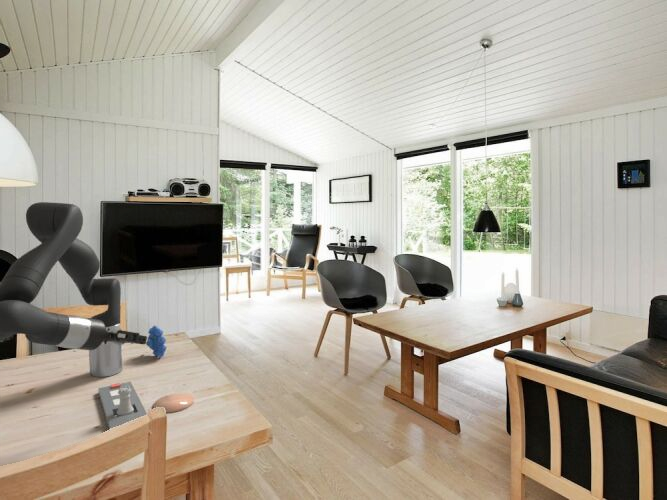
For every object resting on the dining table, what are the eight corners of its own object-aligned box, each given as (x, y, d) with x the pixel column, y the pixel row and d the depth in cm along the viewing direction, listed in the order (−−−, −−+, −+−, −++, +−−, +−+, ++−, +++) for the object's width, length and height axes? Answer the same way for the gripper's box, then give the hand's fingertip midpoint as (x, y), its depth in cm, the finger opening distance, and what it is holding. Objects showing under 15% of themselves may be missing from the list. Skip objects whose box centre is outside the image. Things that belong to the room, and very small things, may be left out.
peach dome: (144, 409, 112) (144, 407, 112) (170, 393, 123) (170, 391, 123) (178, 414, 110) (178, 412, 110) (201, 397, 120) (201, 395, 120)
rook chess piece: (120, 412, 111) (119, 384, 110) (137, 411, 111) (136, 384, 111) (113, 420, 106) (112, 391, 106) (130, 419, 107) (129, 391, 106)
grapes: (139, 355, 157) (138, 325, 156) (156, 351, 162) (155, 322, 161) (153, 362, 149) (152, 331, 149) (170, 357, 155) (169, 327, 154)
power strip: (98, 392, 123) (98, 386, 123) (130, 385, 128) (130, 379, 128) (111, 435, 99) (110, 427, 99) (150, 424, 104) (149, 417, 104)
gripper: (102, 315, 93) (156, 326, 107) (62, 318, 99) (118, 327, 113) (94, 348, 91) (150, 354, 105) (54, 348, 96) (113, 354, 110)
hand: (134, 340), depth 109 cm, fingers open, 8 cm apart
